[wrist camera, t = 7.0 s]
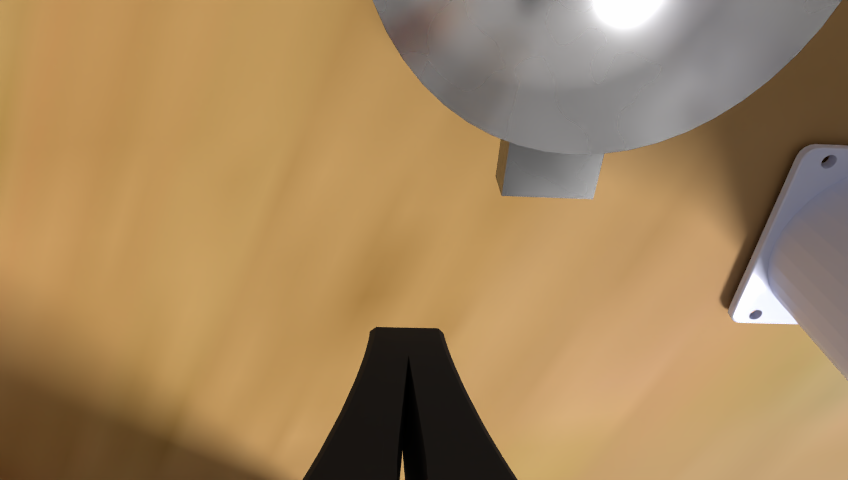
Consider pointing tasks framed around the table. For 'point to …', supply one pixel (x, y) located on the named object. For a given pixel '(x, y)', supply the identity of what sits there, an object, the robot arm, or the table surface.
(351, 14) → the table surface
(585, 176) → the pot
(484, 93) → the lid
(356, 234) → the table surface
